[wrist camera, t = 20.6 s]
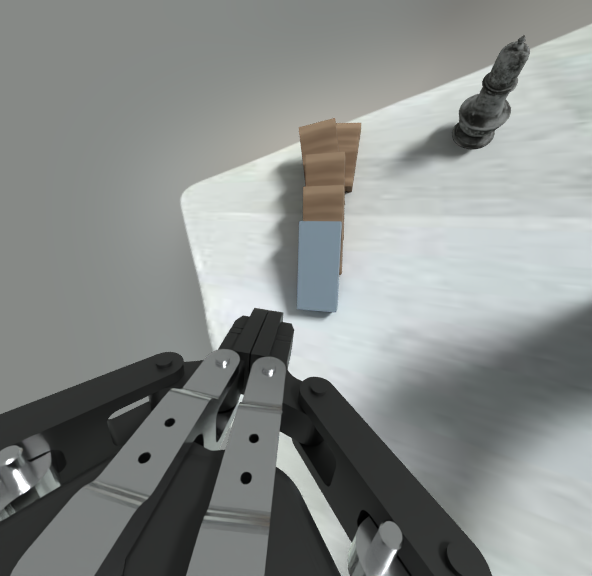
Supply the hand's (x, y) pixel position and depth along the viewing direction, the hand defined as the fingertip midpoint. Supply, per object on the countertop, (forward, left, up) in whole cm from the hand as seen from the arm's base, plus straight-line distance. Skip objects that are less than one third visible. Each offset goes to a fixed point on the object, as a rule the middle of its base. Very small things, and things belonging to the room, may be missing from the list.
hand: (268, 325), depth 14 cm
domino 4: (+21, -9, -21) cm, 31 cm away
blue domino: (+5, -1, -21) cm, 21 cm away
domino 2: (+13, -5, -21) cm, 25 cm away
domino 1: (+18, -7, -20) cm, 28 cm away
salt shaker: (+21, -30, -22) cm, 43 cm away
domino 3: (+9, -4, -21) cm, 23 cm away
